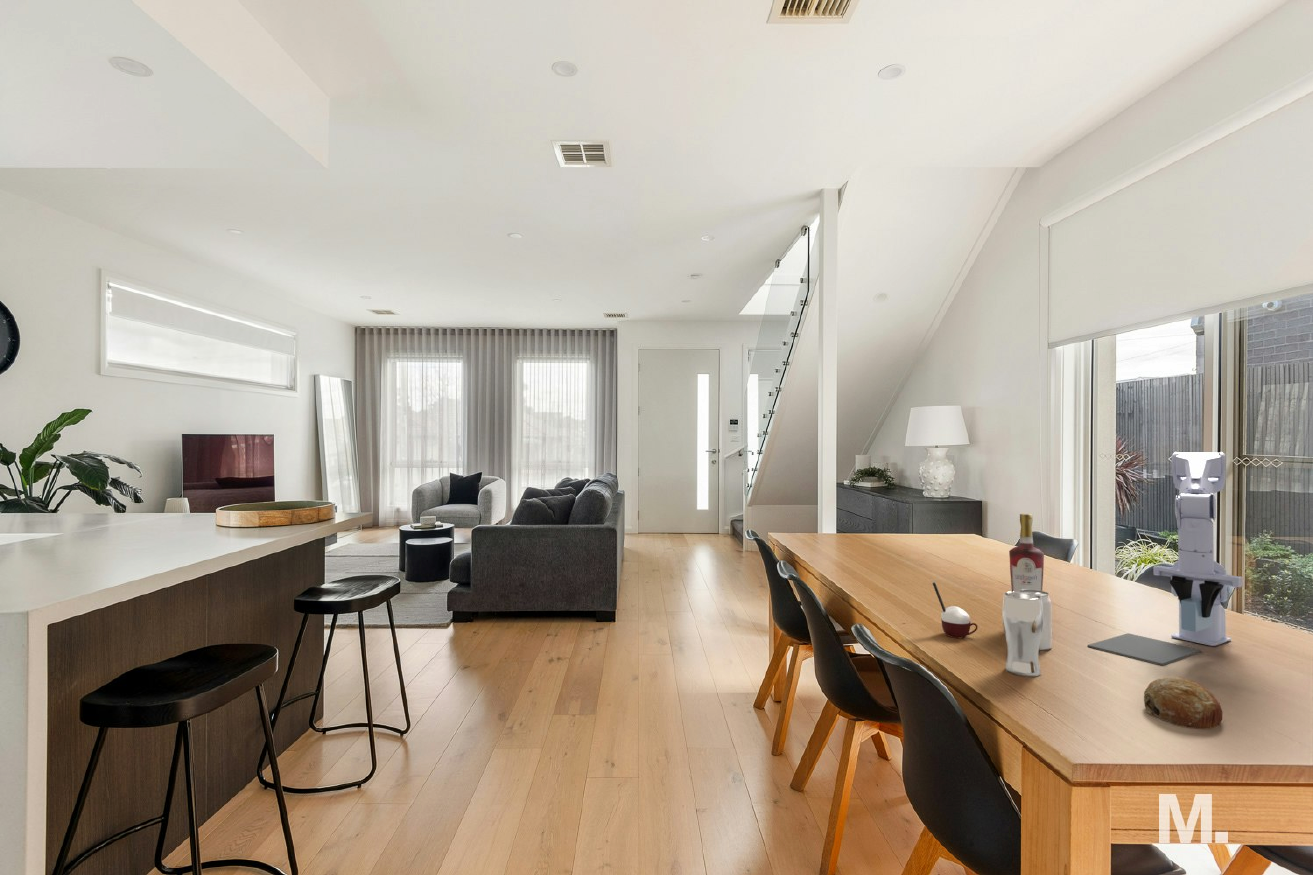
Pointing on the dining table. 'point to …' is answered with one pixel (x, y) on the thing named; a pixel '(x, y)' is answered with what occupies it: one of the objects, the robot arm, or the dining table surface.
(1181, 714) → the bread roll
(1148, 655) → the mat
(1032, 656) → the beer glass
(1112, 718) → the dining table surface
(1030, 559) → the liquor
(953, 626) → the cocoa
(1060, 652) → the dining table surface
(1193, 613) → the block
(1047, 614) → the can
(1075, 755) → the dining table surface
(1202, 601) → the robot arm
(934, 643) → the dining table surface
